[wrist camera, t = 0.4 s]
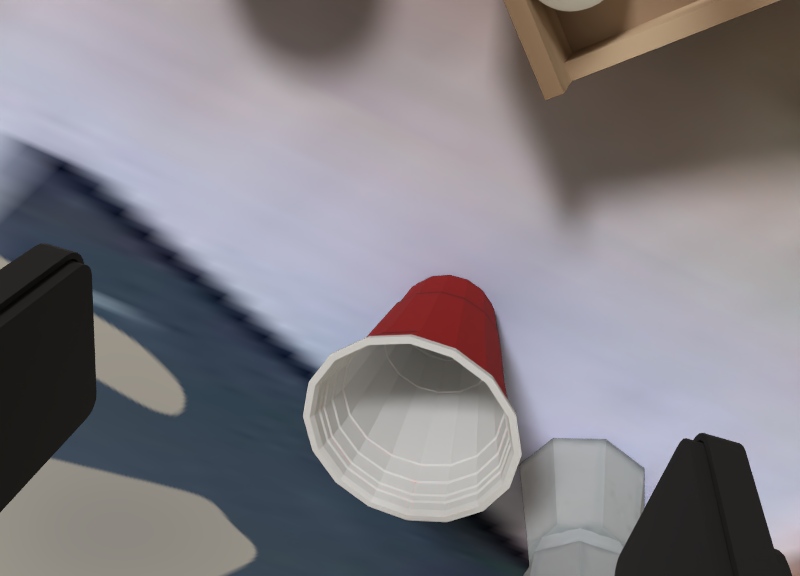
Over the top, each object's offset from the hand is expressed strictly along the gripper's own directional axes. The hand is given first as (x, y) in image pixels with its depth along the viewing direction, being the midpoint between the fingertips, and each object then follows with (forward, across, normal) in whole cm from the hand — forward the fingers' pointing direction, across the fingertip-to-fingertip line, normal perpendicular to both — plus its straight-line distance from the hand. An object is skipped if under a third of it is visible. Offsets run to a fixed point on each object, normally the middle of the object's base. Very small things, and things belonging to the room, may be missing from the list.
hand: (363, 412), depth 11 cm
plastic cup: (+30, 0, +16) cm, 34 cm away
